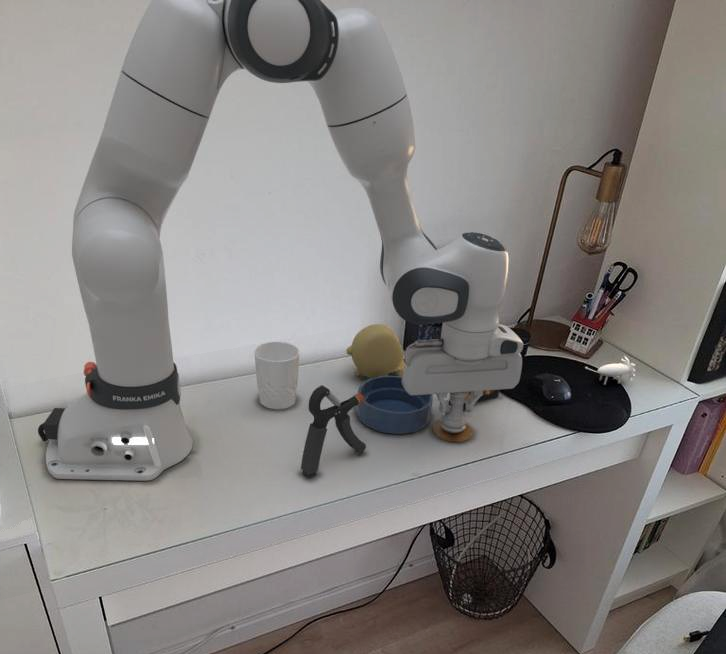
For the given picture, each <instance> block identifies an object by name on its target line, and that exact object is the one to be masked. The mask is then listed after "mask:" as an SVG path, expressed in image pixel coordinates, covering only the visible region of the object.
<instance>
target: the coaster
mask: <svg viewBox="0 0 726 654" xmlns="http://www.w3.org/2000/svg"><path fill="white" fill-rule="evenodd" d="M441 421H442V420H439V421H437V422H436V423H434V425H433V426H432V433H433V435H434V436H435V437H437V438H438V439H439V440H441V441H444V442H446V443H454V444H460V443H464V442H467V441H469V440H470V439H472V437H473V430H472V428H471V427H470V426H469V425H468V424H467V423H466V424H465V426H466V427H465V429H464V430H463V431H461V432H459V433H450V432H447V431H445V430H444V429H443V428H442V426H441Z"/></svg>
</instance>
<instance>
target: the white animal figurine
mask: <svg viewBox="0 0 726 654" xmlns="http://www.w3.org/2000/svg"><path fill="white" fill-rule="evenodd" d="M620 360H621V362H622V363H621V362H619V363H609V364H608V363H607V364H604V365H602V366H599V368H598V369H597V370H594V369H591V368H589V367H588V366H585V367H584V368H585V370H588V371H591V372H594V373H597V374H598V375H600V377H599V379H598V380H599V381H602V380H603V376H604V377H605V378H604V381H603V386H604V385H605V386H606V385H607V381H608V380H609V379H608V378H609V377H611V378H613V379H612V380H616V379H617V378H616V377H618V380H617V384H621V380H622V379H623V378H622V377H623V376H624V375H627V374H628V375H629V380H630V381H633V380H634V379H633V377H635V376H636V375H635V372H637V370H636V369H635V368H636V367H637V366H638V364H636V363H632V362H630V359H629V358H628V357H627V355H624V356H623V357H621V359H620Z"/></svg>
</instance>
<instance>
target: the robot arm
mask: <svg viewBox="0 0 726 654" xmlns="http://www.w3.org/2000/svg"><path fill="white" fill-rule="evenodd" d="M391 46H392V45H391V44H390V41H389V39H388V36H387V34H386V32H385V30H384V28H383V26H382V24H381V22H380V20H379V18H378V17H377V15H375V14H374V12H372V11H370V10H368V9H366V8H364V7H363V8H362V7H357V6H350V7H348V6H347V7H343V8H340V9H337V10H334V11H332V10H331V9H329V8H328V6H326V4H325V3H324V2H323V1H322V0H151V1H150V2H149V4H148V6H147V8H146V9H145V11H144V13H143V15H142V17H141V19H140V21H139V22H138V25H137V28H136V30H135V32H134V34H133V36H132V39H131V41H130V43H129V46H128V49H127V52H126V54H125V56H124V57H125V58H124V60H123V64H122V66H121V70H120V73H119V77H118V80H117V83H116V86H115V89H114V93H113V96H112V98H111V102H110V105H109V108H108V112H107V115H106V118H105V122H104V125H103V128H102V131H101V135H100V137H99V141H98V142H97V146H96V148H95V151H94V153H93V156H92V159H91V161H90V165H89V167H88V169H87V170H88V171H87V173H86V176H85V178H84V182H83V185H82V187H81V191H80V193H79V197H78V199H77V202H76V206H75V209H74V212H73V221H72V235H71V236H72V238H71V239H72V240H71V256H72V257H71V258H72V262H73V266H74V270H75V275H76V280H77V284H78V288H79V289H78V290H79V293H80V296H81V297H80V298H81V301H82V304H83V305H82V306H83V309H84V312H85V316H86V319H87V323H88V329H89V333H90V338H91V343H92V349H93V354H94V359H95V362H94V361H88V362H86V363H85V364H84V365H83V366H84V367H83V375H84V376H85V378H84V383H85V389H86V392H85V393H83V395H81V396H79V397H78V398H77V399H76V400H74V401H73V402H72V403H70V404H69V405H68V406H66V407H65V408H61V407H54V408H53V409H52V411H51V412H50V414H49V415H48V417H46V419H45V420H44V422H42V423H41V424H40V425H39V426H38V428H37V433H38V436H39V437H40V439H41V441H42V442H43V443H44V442H45V443H46V442H47V441H49V442H48V444H47V447H46V452H45V463H46V464H45V465H46V469H47V471H48V473H49V474H50V475H51V477H52V478H54V479H58V480H93V481H137V482H139V481H143V482H144V481H146V482H149V481H152V480H154V479H156V478H158V476H160V475H161V474H162V473H163V472H164V471H165V470H166V469H169V468H171V467H173V466H175V465H177V464H178V463H180V462H182V461H183V460H184V459H185V458H187V457H188V455H189V454H190V453H191V452H192V449H193V447H194V440H193V437H192V435H191V433H190V431H189V429H188V426H187V424H186V420H185V418H184V417H185V416H184V414H183V411H182V407H181V396H182V393H181V382H180V374H179V372H178V367H177V364H176V363H175V362H174V356H173V346H172V345H173V344H172V338H171V337H172V336H171V331H170V330H171V329H170V320H169V308H168V306H169V305H168V293H167V282H166V271H165V269H166V268H165V259H164V252H163V246H162V243H161V239H160V238H161V232H162V227H163V224H164V221H165V219H166V217H167V214H168V212H169V211H170V208H171V206H172V204H173V202H174V200H175V199H176V197H177V195H178V193H179V191H180V190H181V188H182V186H183V184H184V183H185V182H186V180H187V179H188V177H189V175H190V171H191V169H192V166H193V163H194V162H195V159H196V155H197V153H198V150H199V147H200V145H201V143H202V140H203V137H204V134H205V131H206V128H207V125H208V123H209V120H210V117H211V115H212V112H213V109H214V106H215V103H216V100H217V97H218V96H219V93H220V91H221V89H222V87H223V85H224V84H225V82H226V81H227V80H228V78H229V77H231V75H233V73H235V72H237V71H240V70H241V71H242V70H245V71H246V72H248V73H249V74H251V75H253V76H255V77H256V78H258V79H260V80H263V81H264V82H268V83H275V84H290V83H291V84H292V83H297V82H308V83H309V85H310V86H311V89H313V91H314V93H315V95H316V98H317V99H318V101H319V102H318V103H319V104H320V107H321V111H322V114H323V117H324V121H325V124H326V126H327V129H328V132H329V135H330V137H331V140H332V143H333V145H334V148H335V150H336V151H337V153H338V156H339V158H340V160H341V162H342V163H343V165H344V166H345V169H346V170H347V172H348V174H349V176H351V177H352V178H353V179H355V180H356V181H358V183H359V184H360V185H361V186H362V188H363V190H364V191H365V193H366V195H367V198H368V200H369V203H370V206H371V209H372V212H373V215H374V219H375V222H376V226H377V228H378V231H379V235H380V239H381V250H380V251H381V252H380V259H379V261H380V262H379V271H380V275H381V279H382V281H383V283H384V285H385V286H386V289H387V291H388V295H389V298H390V300H391V304H392V306H393V308H394V310H395V312H396V313H397V315H398V317H400V318H401V319H402V320H403V321H405V322H408V323H409V324H412V325H415V326H424V325H425V326H427V325H436V324H442V325H441V332H440V338H433V339H426V340H425V339H418V340H417V339H416V340H415V342H413V343H411V344H409V345H408V346H407V347H406V349H405V353H404V359H405V366H404V370H403V375H402V385H403V387H404V389H405V390H406V392H407V393H408V394H409V395H426V394H433V395H435V396H436V397H437V400H438V402H439V404H438V411H439V413H440V414H441V415H444V414H448V413H450V409H451V404H450V403H449V399H448V400H445V399H446V398H447V397H448V394H450V393H455V392H470V391H472V392H471V393H470V395H469V396H468V398H467V399H465V403H464V405H463V413H472V412H473V410H474V405H475V404H477V403H476V401H477V400H478V399H479V398H480V397H481V396H482V391H484V390H498V389H500V390H511V389H514V388H515V387H516V386H517V385H518V384H520V379H521V375H522V369H523V357H522V354H521V352H522V351H523V349H524V342H523V341H522V339H521V337H520V336H519V335H518V334H516V332H514V331H513V330H512V329H511V328H510V327H509V326H507V325H505V324H501V323H500V318H499V317H500V316H499V314H500V313H499V311H500V308H501V306H502V304H503V303H504V302H503V301H504V299H505V296H506V295H505V294H506V290H507V289H506V288H507V282H508V275H509V263H510V262H509V259H510V258H509V252H508V251H507V249H506V247H505V246H504V245H503V243H502V242H500V241H499V240H498V239H496V238H494V237H492V236H491V235H487V234H484V233H480V232H475V231H473V232H463V233H462V234H460V235H459V236H458V237H457V238H456V239H455V240H454V241H452V242H450V243H448V244H447V245H445V246H443V247H440V248H437V246H436V245H435V243H434V242H433V241H432V240H431V239H430V238H429V237H428V236H427V235H426V233H424V231H423V230H422V228H421V226H420V223H419V220H418V219H419V218H418V216H417V212H416V209H415V208H416V207H415V205H414V204H415V203H414V201H413V198H412V194H411V190H410V185H409V180H408V168H409V164H410V162H411V161H412V159H413V156H414V154H415V151H416V139H415V137H416V136H415V129H414V120H413V114H412V110H411V109H412V108H411V105H410V100H409V97H408V93H407V89H406V85H405V82H404V79H403V76H402V72H401V70H400V67H399V64H398V62H397V59H396V56H395V53H394V51H393V49H392V47H391Z"/></svg>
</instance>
